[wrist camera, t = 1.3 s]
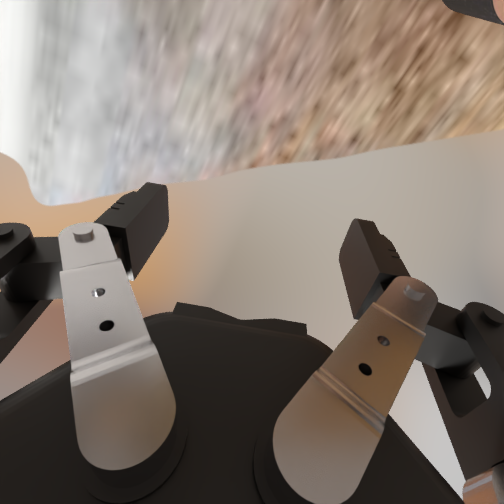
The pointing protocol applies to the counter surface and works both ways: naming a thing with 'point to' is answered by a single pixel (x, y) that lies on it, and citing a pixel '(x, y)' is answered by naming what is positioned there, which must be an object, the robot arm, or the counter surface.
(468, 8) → the travel mug
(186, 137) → the counter surface
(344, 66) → the counter surface
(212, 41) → the counter surface
